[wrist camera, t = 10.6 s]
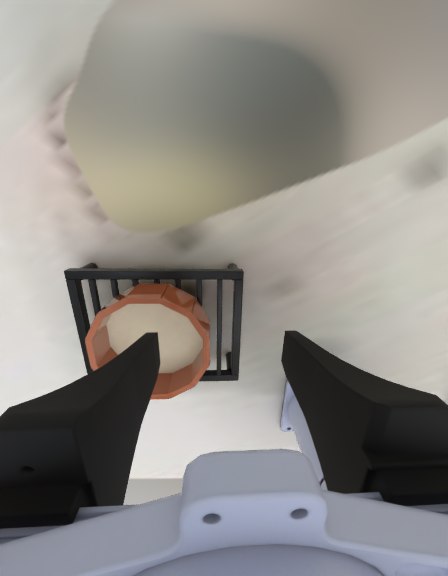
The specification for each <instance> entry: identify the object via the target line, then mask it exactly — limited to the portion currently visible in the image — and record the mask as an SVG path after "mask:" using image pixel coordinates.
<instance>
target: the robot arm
mask: <svg viewBox="0 0 448 576" xmlns="http://www.w3.org/2000/svg"><path fill="white" fill-rule="evenodd" d="M281 361H282V364H283V368H284V371H285V374H286V377H287V382H286V389H285V397H284V404H283V411H282V418H281V425H280V428H281V430H282V431H284V432H287V431H294V433H295V436H296V438H297V441H298V444H299V447H300V449H301V452H302V453H301V452H299V451H294V450H287V449H272V450H247V451H223V452H212V453H208V454H203V455H200V456H199V457H197V458H196V459H195V460H193V461H192V462H191V463H189V464H188V465H187V467H186V470H185V473H184V476H183V487H182V493H178V494H175V495H171V496H168V497H165V498H161V499H157V500H154V501H150V502H147V503H144V504H140V505H123V503H124V498H125V493H126V488H127V484H128V479H129V474H130V470H131V465H132V461H133V457H134V452H135V448H136V444H137V440H138V436H139V432H140V428H141V424H142V421H143V418H144V415H145V412H146V409H147V406H148V404H149V401H150V398H151V395H152V392H153V390H154V387H155V384H156V381H157V377H158V373H159V368H160V363H161V362H160V351H159V341H158V332H147V333H145V334H144V335H143V336H141V337H140V338H139V339H138V340H137V341H135V342H134V343H133V344H132V345H130V346H129V347H128V348H127V349H125V350H124V351H123V352H122V353H120V354H119V355H117V356H116V357H115V358H113V359H112V360H111V361H109V362H108V363H106V364H105V365H103V366H102V367H100V368H98V369H97V370H95V371H93V372H92V373H90V374H88V375H86V376H84V377H82V378H80V379H78V380H76V381H74V382H73V383H71V384H69V385H66V386H64V387H62V388H60V389H58V390H55V391H53V392H50V393H48V394H46V395H43V396H40V397H38V398H35V399H32V400H29V401H27V402H24V403H21V404H18V405H15V406H12V407H9V408H8V409H7V410H6V411H5V412H4V413H3V414H2V415H1V416H0V576H448V405H447V404H446V403H445V402H443V401H442V400H441V399H440V398H439V397H438V396H436V395H433V394H430V393H426V392H423V391H419V390H416V389H412V388H408V387H405V386H402V385H399V384H396V383H393V382H390V381H388V380H385V379H382V378H380V377H377V376H375V375H372V374H370V373H368V372H365V371H363V370H361V369H359V368H357V367H355V366H353V365H351V364H349V363H347V362H345V361H343V360H341V359H339V358H338V357H336V356H334V355H332V354H331V353H329V352H327V351H326V350H324V349H323V348H321V347H320V346H318V345H317V344H315V343H314V342H312V341H311V340H309V339H308V338H306V337H305V336H303V335H302V334H300V333H299V332H297V331H285V336H284V344H283V352H282V360H281Z"/></svg>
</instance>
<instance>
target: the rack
mask: <svg viewBox="0 0 448 576" xmlns="http://www.w3.org/2000/svg"><path fill="white" fill-rule="evenodd" d="M64 274H65V278H66V282H67V287H68V291H69V295H70V300H71V304H72V308H73V313H74V317H75V321H76V326H77V330H78V335H79V339H80V343H81V348H82V352H83V356H84V361H85V365H86V369H87V374H90V373H92V372H93V371H94V370H93V369H92V368H91V366H90V362H89V357H88V353H87V348H86V344H85V338H86V336H87V334H88V332H89V329H90V323H89V318H88V314H87V309H86V304H85V299H84V294H83V289H82V285H81V280H83V279H89V280H88V281H89V286H90V291H91V297H92V302H93V307H94V312H95V317H96V314H97V313H98V312H99V311H100V310H101V307H100V301H99V296H98V290H97V285H96V279H111V280H110V281H111V287H112V293H113V298H114V297H115V296H117V295H119V289H118V282H117V279H133V280H132V282H133V286H135V285H136V284H139V279H154V283H160V279H176V280H175V282H176V288H178V289H180V290H181V279H197V301H198V302H199V304H200V305H201V307H202V279H217V370H206V371H205V372H204V374H203V375H202V377H201V378H200V380H199V381H234V380H238V376H239V375H238V374H239V356H240V335H241V315H242V294H243V275H244V272H243V269H238V267H237V265H235V264H230V265H229V266H228V269H98V268H97V266H96V265H95V264H93V263H90V264H88V265H86V266H84V267H82V268H70V269H67V270H65V271H64ZM222 279H232V280H234V291H233V321H232V350H231V352H228V353H227V354H226V363H227V370H221V342H222Z"/></svg>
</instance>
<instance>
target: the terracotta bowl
mask: <svg viewBox="0 0 448 576" xmlns="http://www.w3.org/2000/svg"><path fill="white" fill-rule="evenodd" d="M147 332H158V341H159V351H160V362H161V363H160V368H159V373H158V377H157V381H156V384H155V387H154V390H153V392H152V395H151V398H150V399H169V398H172V397H174V396H177V395H179V394H181V393H183V392H185V391H187V390H189V389H191V388H193V387H194V386H196V384H197V383H198V381H199V380H200V378H201V377H202V375H203V374H204V372H205V371H206V370H207V368H208V367H209V364H210V320H209V317H208V316H207V314H206V313H205V311H204V310H203V308H202V307H201V305H200V304H199V302H198V301H197V299H196V298H195V297H194V296H192V295H190V294H188V293H186V292H184V291H182V290H180V289H178V288H176V287H175V286H173V285H171V284H168V283H139V284H136V285H135V286H133V287H131V288H129V289H128V290H126V291H124V292H122V293H121V294H119V295H117V296H115V297H114V298H113V299H112V300H111V301H110V302H109V303H108V304H107V305H106V306H105V307H103V308H102V309H101V310H100V311H99V312H98V313H97V314H96V317H95V319H94V321H93V323H92V325H91V327H90V329H89V332H88V334H87V336H86V338H85V344H86V348H87V353H88V357H89V362H90V366H91V368H92V369H93V370H94V371H95V370H97V369H98V368H100V367H102V366H103V365H105V364H106V363H108V362H109V361H111V360H112V359H113V358H115V357H116V356H117V355H119V354H120V353H122V352H123V351H124V350H125V349H127V348H128V347H129V346H130V345H132V344H133V343H134V342H135V341H137V340H138V339H139V338H140V337H141V336H143V335H144V334H145V333H147Z"/></svg>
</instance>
